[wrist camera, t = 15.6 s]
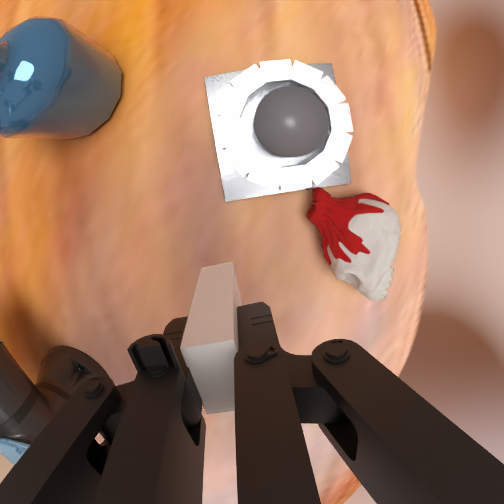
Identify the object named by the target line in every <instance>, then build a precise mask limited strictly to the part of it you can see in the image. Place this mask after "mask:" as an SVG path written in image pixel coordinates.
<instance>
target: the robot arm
mask: <svg viewBox="0 0 504 504" xmlns="http://www.w3.org/2000/svg"><path fill="white" fill-rule="evenodd" d="M127 350H128V352H129V355H130V357H131V359H132V361H133V363H134V365H135V367H136V369H137V371H138V373H137V375H136V378H135V381H132V382H129V383H126V384H122V385H119V386H115V384H114V383H113V381H112V380H111V379H110V378H109V377H108V375H107V374H106V372H105V371H104V370H103V369H102V368H101V367H100V365H99V364H97V363H96V362H95V361H94V360H93V359H92V358H90V357H89V356H87V355H86V354H84V353H83V352H81V351H79V350H76V349H74V348H71V347H66V346H57V347H54V348H52V349H51V350H50V351H49V352H48V353H47V354H46V355H45V357H44V358H43V360H42V363H41V369H40V372H39V375H38V379H37V382H36V384H35V385H34V384H33V382H32V381H31V380H30V379H29V378H28V376H27V375H26V374H25V373H24V371H23V370H22V369H21V368H20V366H19V365H18V364H17V362H16V361H15V359H14V358H13V357H12V355H11V354H10V353H9V351H8V350H7V348H6V347H5V345H4V344H3V341H2V340H1V339H0V452H1V454H2V455H3V456H4V457H5V458H6V459H8V460H9V461H10V462H11V463H13V464H14V467H13V468H12V469H11V471H10V472H9V473H8V474H7V476H6V477H5V478H4V480H3V481H2V482H1V484H0V504H202V490H203V468H204V449H205V432H206V424H205V420H204V418H203V416H202V414H201V412H202V404H203V406H204V409H205V411H206V413H207V414H211V413H219V412H227V411H234V410H235V436H236V466H237V491H238V504H321V502H320V498H319V494H318V490H317V486H316V482H315V478H314V474H313V470H312V466H311V462H310V458H309V454H308V450H307V446H306V442H305V438H304V434H303V430H302V426H301V423H317V424H318V425H319V427H320V429H321V430H322V431H323V433H324V434H325V435H326V437H327V438H328V440H329V441H330V442H331V444H332V445H333V446H334V448H335V449H336V451H337V452H338V453H339V455H340V456H341V457H342V459H343V460H344V461H345V463H346V464H347V465H348V467H349V468H350V469H351V471H352V472H353V473H354V475H355V476H356V477H357V479H358V480H359V481H360V483H361V484H362V485H363V486H364V488H365V489H366V490H367V491H368V493H369V494H370V496H371V497H372V498H373V499H374V501H375V502H376V503H377V504H504V464H503V463H501V462H500V461H499V460H498V459H496V458H495V457H494V456H493V455H492V454H491V453H489V452H488V451H487V450H486V449H484V448H483V447H482V446H481V445H479V444H478V443H477V442H476V441H475V440H473V439H472V438H471V437H470V436H469V435H467V434H466V433H465V432H464V431H463V430H461V429H460V428H459V427H458V426H456V425H455V424H454V423H453V422H451V421H450V420H449V419H448V418H446V416H444V415H443V414H442V413H440V412H439V411H438V410H437V409H436V408H435V407H433V406H432V405H431V404H430V403H428V402H427V401H426V400H425V399H424V398H422V397H421V396H420V395H419V394H418V393H416V392H415V391H414V390H413V389H412V388H410V387H409V386H408V385H407V384H406V383H404V382H403V381H402V380H401V379H400V378H398V377H397V376H396V375H395V374H393V373H392V372H391V371H390V370H389V369H387V368H386V367H385V366H384V365H383V364H381V363H380V362H379V361H378V360H377V359H375V358H374V357H373V356H372V355H371V354H369V353H368V352H367V351H366V350H365V349H363V348H362V347H361V346H360V345H358V344H357V343H355V342H353V341H351V340H346V339H333V340H329V341H326V342H323V343H322V344H320V345H318V346H317V347H316V348H315V349H314V350H313V352H312V355H294V354H290V353H288V352H286V351H284V350H283V349H282V348H281V346H280V344H279V341H278V337H277V333H276V329H275V325H274V322H273V318H272V314H271V310H270V307H269V306H268V305H267V304H265V303H264V302H259V303H254V304H249V305H243V304H242V300H241V296H240V291H239V287H238V282H237V278H236V274H235V269H234V265H233V261H231V262H226V263H221V264H216V265H211V266H206V267H202V268H201V271H200V275H199V278H198V282H197V285H196V289H195V293H194V296H193V300H192V304H191V308H190V311H189V315H188V317H182V318H176V319H173V320H172V321H171V322H170V323H169V324H168V325H167V326H166V328H165V330H164V333H163V335H162V334H152V335H148V336H145V337H142V338H140V339H138V340H136V341H135V342H134V343H132V344H131V345H130V346H129V348H128V349H127ZM98 433H100V434H101V435H102V437H103V438H104V439H105V440H104V442H102V443H101V444H98V442H97V441H96V440H95V437H96V436H97V434H98Z"/></svg>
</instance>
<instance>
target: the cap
mask: <svg viewBox="0 0 504 504" xmlns="http://www.w3.org/2000/svg"><path fill="white" fill-rule="evenodd" d="M327 131H328V115H327V112H326V110H325V107H324V106H323V104H322V102H321V101H320V100H319V99H318V98H317V97H316V96H315V95H314V94H312V93H311V92H309V91H308V90H305V89H303V88H300V87H294V86H285V87H280V88H277V89H274V90H272V91H270V92H269V93H268V94H266V95H265V96H264V97H263V98H262V99H261V101H260V102H259V104H258V106H257V108H256V111H255V116H254V120H253V133H254V136H255V139H256V141H257V142H258V144H259V145H260V146H261V148H262V149H264V150H265V151H266V152H268V153H269V154H271V155H274V156H277V157H283V158H289V157H301V156H305V155H308V154H310V153H312V152H313V151H315V150H316V149H317V148H318V147H319V146H320V145H321V144H322V143H323V141H324V139H325V137H326V135H327Z"/></svg>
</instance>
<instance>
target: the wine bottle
mask: <svg viewBox="0 0 504 504" xmlns="http://www.w3.org/2000/svg"><path fill="white" fill-rule="evenodd" d="M121 78H122V70H121V69H120V67H119V65H118V64H117V62H116V60H115V59H114V57H113V55H112V54H111V53H110V52H108V51H107V50H106V49H104V48H103V47H102V46H100V45H99V44H97V43H96V42H95V41H93V40H92V39H90V38H89V37H88V36H86V35H85V34H83V33H82V32H80V31H79V30H78V29H76V28H75V27H73V26H72V25H70V24H69V23H67V22H66V21H64V20H62V19H57V18H52V17H46V16H35V17H32V18H30V19H28V20H26V21H24V22H22V23H20V24H18V25H16V26H14V27H13V28H11V29H9V30H8V31H7V32H6V33H5V34H4V35H3V36H2V37H1V38H0V135H2V136H3V137H4V138H46V139H72V138H77V137H82V136H87V135H90V134H91V133H92V132H93V131H94V130H95V129H97V128H98V127H99V126H100V125H101V124H103V123H104V122H105V121H106V120H108V119H109V118H110V116H111V114H112V112H113V110H114V108H115V106H116V104H117V102H118V100H119V98H120V96H121Z"/></svg>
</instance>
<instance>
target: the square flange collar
mask: <svg viewBox="0 0 504 504" xmlns="http://www.w3.org/2000/svg"><path fill="white" fill-rule="evenodd" d="M204 79H205V85H206V91H207V97H208V103H209V109H210V115H211V121H212V127H213V133H214V139H215V145H216V150H217V156H218V162H219V168H220V173H221V179H222V185H223V190H224V196H225V201H226V202H228V201H234V200H240V199H246V198H252V197H258V196H264V195H271V194H277V193H284V192H290V191H297V190H304V189H312V188H316V187H327V186H334V185H342V184H351V176H350V168H349V160H348V152H347V150H348V147H349V145H350V142H351V140H352V137H353V136H351V135H349V134H347V133H349V132H353V127H352V121H351V115H350V109H349V104H348V103H341V102H342V101H343V100H345V99H346V97H345V96H344V95H343V94H342V92H341V91H340V90H339V88H338V87H337V86H336V82H335V77H334V72H333V68H332V63H330V64H304V63H301V62H299V61H297V60H295V61H294V63H293V65H291V60H290V59H286V60H275V61H265V62H260V63H259V68H258V67H257V65H256V64H254V65H252V66H251V67H250V68H248V69H247V70H243V71H237V72H230V73H224V74H219V75H213V76H208V77H204ZM285 86H294V87H300V88H303V89H305V90H308V91H309V92H311V93H312V94H314V95H315V96H316V97H317V98H318V99H319V100H320V101H321V102H322V104H323V106H324V107H325V110H326V112H327V115H328V131H327V135H326V137H325V139H324V141H323V143H322V144H321V145H320V146H319V147H318V148H317V149H316V150H315V151H313V152H312V153H310V154H308V155H305V156H301V157H289V158H283V157H277V156H274V155H271V154H269V153H268V152H266V151H265V150H264V149H262V148H261V146H260V145H259V144H258V142H257V141H256V139H255V136H254V133H253V120H254V116H255V111H256V108H257V106H258V104H259V102H260V101H261V99H262V98H263V97H264V96H265V95H266V94H268V93H269V92H270V91H272V90H274V89H277V88H280V87H285Z"/></svg>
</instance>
